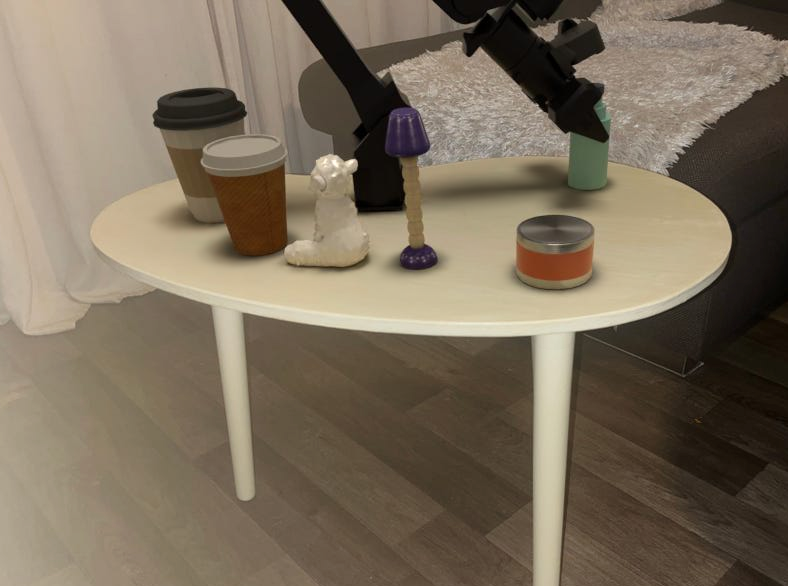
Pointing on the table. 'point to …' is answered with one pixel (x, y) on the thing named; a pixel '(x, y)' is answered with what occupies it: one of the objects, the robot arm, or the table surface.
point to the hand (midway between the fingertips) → (600, 134)
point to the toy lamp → (411, 180)
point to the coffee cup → (198, 139)
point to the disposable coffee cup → (250, 190)
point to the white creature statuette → (332, 219)
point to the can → (554, 251)
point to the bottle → (589, 154)
